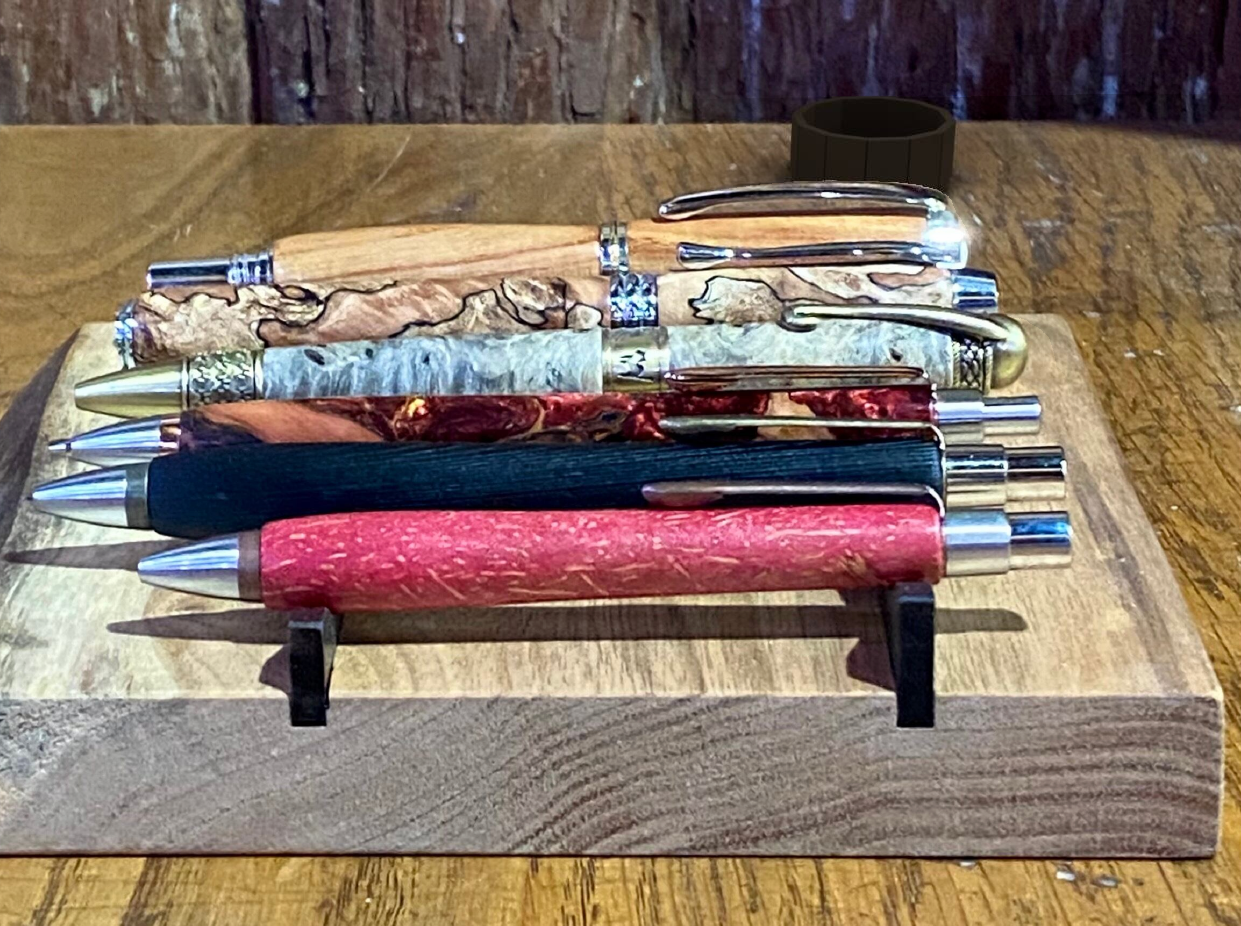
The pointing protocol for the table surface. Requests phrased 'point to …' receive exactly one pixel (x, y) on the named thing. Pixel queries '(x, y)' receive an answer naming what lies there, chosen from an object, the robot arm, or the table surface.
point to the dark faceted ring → (873, 141)
